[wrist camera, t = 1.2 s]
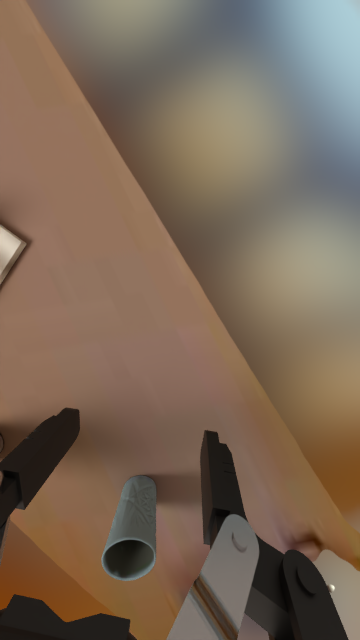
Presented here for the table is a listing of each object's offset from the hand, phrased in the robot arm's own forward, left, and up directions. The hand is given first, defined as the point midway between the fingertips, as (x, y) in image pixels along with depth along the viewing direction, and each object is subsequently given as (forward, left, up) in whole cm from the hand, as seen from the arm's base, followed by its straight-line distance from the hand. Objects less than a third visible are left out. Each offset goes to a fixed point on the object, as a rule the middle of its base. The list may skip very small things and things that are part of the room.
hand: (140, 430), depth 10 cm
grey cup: (-37, -20, -28) cm, 50 cm away
